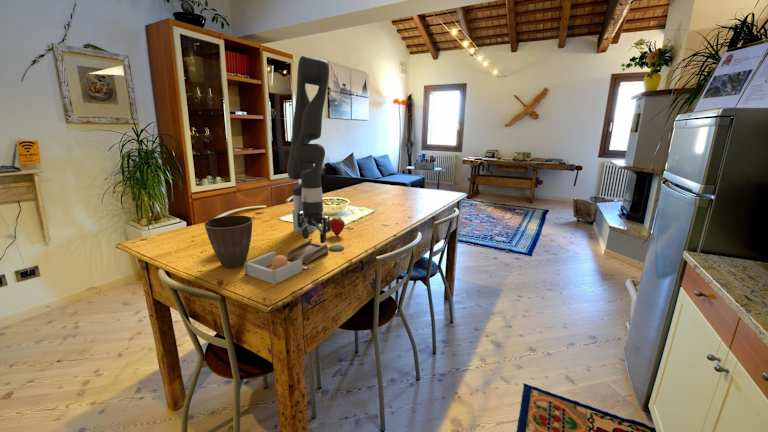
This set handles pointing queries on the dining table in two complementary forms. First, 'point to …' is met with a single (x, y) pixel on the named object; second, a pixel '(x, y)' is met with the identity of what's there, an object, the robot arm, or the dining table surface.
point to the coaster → (336, 248)
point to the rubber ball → (279, 261)
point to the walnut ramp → (307, 251)
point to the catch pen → (273, 276)
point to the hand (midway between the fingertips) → (314, 240)
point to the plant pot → (230, 239)
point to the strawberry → (337, 225)
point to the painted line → (302, 266)
